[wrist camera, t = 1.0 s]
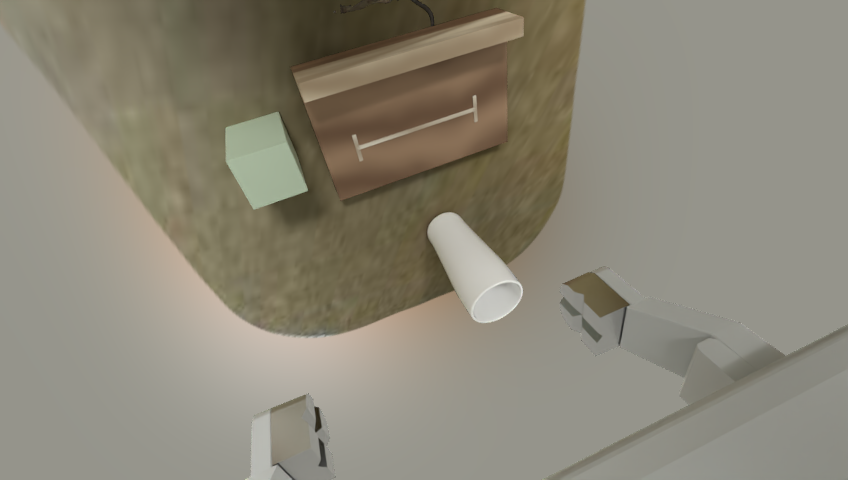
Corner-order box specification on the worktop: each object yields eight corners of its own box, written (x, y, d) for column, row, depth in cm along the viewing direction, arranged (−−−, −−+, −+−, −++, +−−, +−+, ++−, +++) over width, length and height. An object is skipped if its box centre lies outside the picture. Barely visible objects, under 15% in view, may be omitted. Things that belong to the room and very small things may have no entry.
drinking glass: (418, 213, 51) (470, 293, 40) (465, 199, 53) (527, 272, 42) (422, 251, 56) (470, 331, 45) (465, 237, 57) (521, 311, 46)
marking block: (225, 127, 36) (226, 161, 31) (278, 111, 37) (287, 141, 32) (255, 183, 41) (260, 221, 36) (302, 168, 41) (313, 202, 36)
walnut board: (289, 66, 35) (297, 84, 32) (496, 7, 39) (523, 17, 35) (336, 191, 45) (346, 215, 41) (499, 134, 48) (521, 152, 45)
